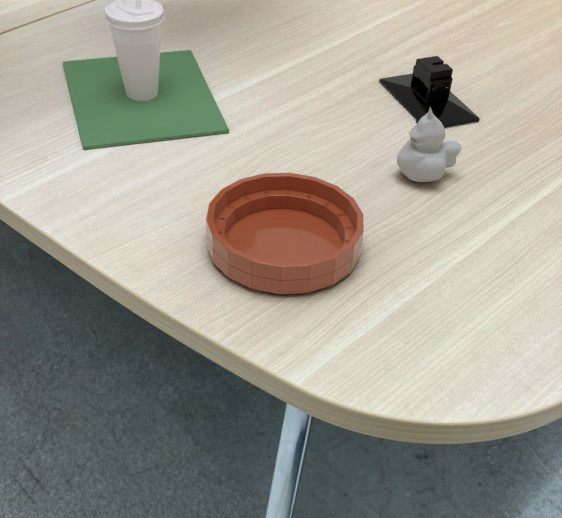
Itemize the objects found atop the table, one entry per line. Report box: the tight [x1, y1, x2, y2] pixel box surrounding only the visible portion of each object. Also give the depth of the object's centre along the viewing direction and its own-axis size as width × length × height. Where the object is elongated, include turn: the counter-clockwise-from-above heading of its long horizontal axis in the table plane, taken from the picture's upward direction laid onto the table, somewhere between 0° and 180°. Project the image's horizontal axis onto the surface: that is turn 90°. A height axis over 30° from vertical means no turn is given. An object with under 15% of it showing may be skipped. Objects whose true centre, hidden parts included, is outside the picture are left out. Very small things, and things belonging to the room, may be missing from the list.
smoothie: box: [104, 0, 166, 101], centre depth 87 cm, size 6×6×14 cm
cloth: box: [62, 49, 230, 150], centre depth 92 cm, size 16×20×1 cm
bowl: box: [205, 172, 365, 295], centre depth 73 cm, size 14×14×4 cm
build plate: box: [378, 55, 481, 129], centre depth 93 cm, size 12×7×5 cm, turn 22°
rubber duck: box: [396, 107, 462, 183], centre depth 80 cm, size 5×7×8 cm
